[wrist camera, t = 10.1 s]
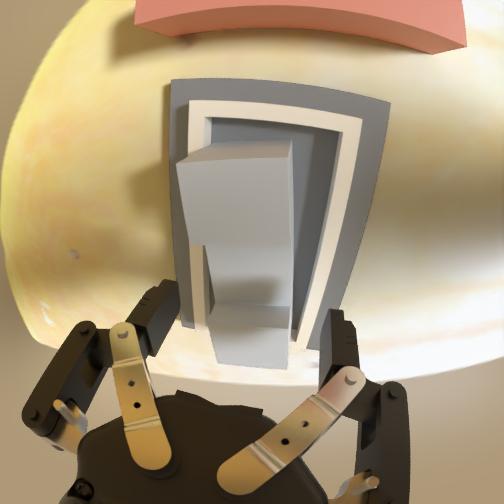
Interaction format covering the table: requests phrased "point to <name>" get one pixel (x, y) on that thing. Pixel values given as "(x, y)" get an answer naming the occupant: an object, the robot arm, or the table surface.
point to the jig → (304, 183)
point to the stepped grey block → (245, 245)
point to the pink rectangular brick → (316, 18)
